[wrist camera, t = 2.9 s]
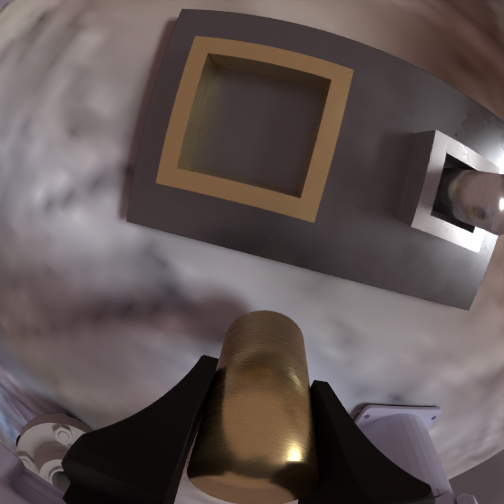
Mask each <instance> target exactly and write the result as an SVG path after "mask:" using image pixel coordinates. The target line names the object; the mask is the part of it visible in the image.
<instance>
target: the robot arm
mask: <svg viewBox="0 0 504 504" xmlns="http://www.w3.org/2000/svg"><path fill="white" fill-rule="evenodd" d="M218 361H219V359H217V358H213V357H210V356H206V355H203V356H201V358H200V359H199V361H198V362H197V363H196V365H195V366H194V367H193V368H192V369H191V371H190V372H189V373H188V374H187V375H186V376H185V377H184V378H183V379H182V380H181V381H180V382H179V383H178V384H177V385H176V386H174V387H173V388H172V389H171V390H170V391H168V392H167V393H166V394H165V395H164V396H162V397H161V398H160V399H158V400H157V401H155V402H154V403H152V404H151V405H149V406H148V407H146V408H145V409H143V410H141V411H139V412H138V413H136V414H134V415H132V416H130V417H128V418H126V419H124V420H122V421H119V422H117V423H115V424H112V425H110V426H107V427H104V428H101V429H98V430H95V431H91V432H88V433H84V434H82V435H81V436H80V437H79V438H78V439H77V440H76V441H75V442H74V444H73V445H72V446H71V447H70V448H69V450H68V451H67V453H66V455H65V456H64V458H63V460H62V462H61V465H62V468H63V470H64V472H65V474H66V476H67V477H68V479H69V481H70V485H69V487H68V489H67V491H66V492H64V491H62V490H60V489H59V488H57V487H55V486H54V485H52V484H50V483H49V482H47V481H46V480H44V479H42V478H41V477H39V476H38V475H36V474H35V473H33V472H32V471H30V470H29V469H28V468H26V467H25V465H24V463H23V462H22V460H21V459H20V458H19V457H18V456H17V455H16V454H15V453H13V452H12V451H11V450H10V449H8V448H7V447H6V446H5V445H3V444H2V443H1V442H0V504H174V501H175V498H176V494H177V490H178V487H179V483H180V480H181V476H182V473H183V469H184V466H185V462H186V459H187V456H188V453H189V451H190V448H191V446H192V443H193V441H194V438H195V436H196V434H197V431H198V429H199V426H200V423H201V419H202V416H203V413H204V409H205V406H206V402H207V399H208V395H209V392H210V389H211V387H212V383H213V380H214V376H215V373H216V369H217V365H218ZM310 392H311V401H312V410H313V419H314V428H315V438H316V448H317V459H318V470H319V483H318V485H317V487H316V488H315V489H314V490H313V491H312V492H311V493H309V494H308V495H306V496H304V497H302V498H300V499H298V504H478V502H477V500H476V499H475V497H474V496H473V495H466V494H462V495H460V496H459V497H456V496H455V495H454V494H453V492H452V489H451V487H450V484H449V481H448V479H447V476H446V474H445V471H444V469H443V466H442V464H441V461H440V459H439V456H438V454H437V452H436V449H435V447H434V445H433V442H432V440H431V438H430V435H429V433H428V431H427V430H428V429H429V428H430V426H431V425H432V424H433V423H434V422H435V420H436V419H437V418H438V417H439V415H440V414H441V412H442V410H441V408H440V407H402V406H383V405H367V406H366V407H364V408H363V410H362V411H361V413H360V414H359V416H358V417H357V418H356V420H355V421H353V420H352V418H351V417H350V415H349V414H348V413H347V411H346V410H345V408H344V407H343V405H342V404H341V402H340V401H339V399H338V397H337V396H336V394H335V393H334V391H333V390H332V388H331V387H330V385H329V384H328V382H323V381H317V380H314V381H313V383H312V385H311V387H310Z"/></svg>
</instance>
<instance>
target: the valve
mask: <svg viewBox="0 0 504 504" xmlns="http://www.w3.org/2000/svg"><path fill="white" fill-rule="evenodd" d="M91 431H93V430H92V429H90V428H89V427H88V426H87V425H85V424H84V423H83V422H81V421H79V420H77V419H74V418H72V417H69V416H68V415H66V414H64V413H59V414H45V415H41V416H38V417H35V418H34V419H32V420H31V421H29V422H28V423H27V424H26V425H25V427H24V429H23V430H22V433H21V434H20V435H19V436H18V438H17V440H16V446H17V456H18V457H19V458H20V459H21V460H22V462H23V463H24V465H25V467H26V468H28V469H29V470H30V471H32V472H33V473H35V474H36V475H38V476H39V477H41V478H42V479H44V480H46V481H47V482H49V483H50V484H52V485H54V486H55V487H57V488H59V489H60V490H62V491H64V492H66V491H67V489H68V487H69V485H70V481H69V479H68V477H67V476H66V474H65V472H64V470H63V468H62V465H61V462H62V460H63V458H64V456H65V455H66V453H67V451H68V450H69V448H70V447H71V446H72V445H73V444H74V442H75V441H76V440H77V439H78V438H79V437H80V436H81V435H82V434H84V433H88V432H91Z"/></svg>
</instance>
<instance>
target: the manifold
mask: <svg viewBox="0 0 504 504" xmlns="http://www.w3.org/2000/svg"><path fill="white" fill-rule="evenodd" d="M127 222H131V223H135V224H139V225H142V226H146V227H150V228H154V229H157V230H161V231H165V232H169V233H173V234H176V235H180V236H184V237H188V238H192V239H195V240H199V241H203V242H207V243H210V244H214V245H218V246H222V247H226V248H229V249H233V250H237V251H241V252H245V253H249V254H252V255H256V256H260V257H264V258H268V259H271V260H275V261H279V262H283V263H287V264H291V265H294V266H298V267H302V268H306V269H310V270H314V271H317V272H321V273H325V274H329V275H333V276H337V277H340V278H344V279H348V280H352V281H356V282H360V283H363V284H367V285H371V286H375V287H379V288H383V289H387V290H390V291H394V292H398V293H402V294H406V295H410V296H414V297H417V298H421V299H425V300H429V301H433V302H437V303H441V304H445V305H449V306H452V307H456V308H460V309H464V310H468V311H469V309H470V307H471V305H472V302H473V300H474V298H475V296H476V293H477V291H478V289H479V286H480V284H481V281H482V279H483V277H484V274H485V271H486V269H487V266H488V264H489V261H490V258H491V255H492V252H493V249H494V246H495V243H496V240H497V237H498V235H503V234H504V121H502V120H501V119H500V118H498V117H497V116H496V115H494V114H493V113H492V112H490V111H489V110H488V109H486V108H485V107H483V106H482V105H480V104H479V103H478V102H476V101H475V100H473V99H472V98H470V97H468V96H467V95H465V94H464V93H462V92H461V91H459V90H457V89H456V88H454V87H452V86H451V85H449V84H447V83H446V82H444V81H442V80H440V79H439V78H437V77H435V76H433V75H431V74H429V73H427V72H426V71H424V70H422V69H420V68H418V67H416V66H414V65H412V64H410V63H407V62H405V61H403V60H401V59H399V58H397V57H394V56H392V55H390V54H388V53H385V52H383V51H380V50H378V49H375V48H373V47H370V46H368V45H365V44H362V43H360V42H357V41H354V40H351V39H348V38H345V37H342V36H339V35H336V34H333V33H330V32H326V31H323V30H319V29H316V28H312V27H308V26H304V25H300V24H296V23H292V22H287V21H282V20H277V19H272V18H267V17H261V16H255V15H248V14H241V13H233V12H224V11H212V10H197V9H182V10H181V12H180V15H179V17H178V20H177V22H176V25H175V27H174V30H173V33H172V35H171V38H170V41H169V44H168V47H167V49H166V52H165V55H164V58H163V61H162V64H161V67H160V71H159V74H158V77H157V80H156V84H155V87H154V91H153V94H152V98H151V101H150V105H149V109H148V113H147V117H146V121H145V125H144V129H143V133H142V137H141V142H140V147H139V151H138V156H137V161H136V166H135V171H134V177H133V182H132V188H131V194H130V201H129V207H128V214H127Z"/></svg>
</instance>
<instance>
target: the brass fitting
mask: <svg viewBox="0 0 504 504" xmlns="http://www.w3.org/2000/svg"><path fill="white" fill-rule="evenodd" d="M187 475H188V478H189V480H190V481H191V482H192V483H193V484H194V485H195V486H196V487H197V488H198V489H200V490H201V491H203V492H205V493H206V494H208V495H210V496H213V497H215V498H218V499H221V500H224V501H228V502H232V503H237V504H282V503H287V502H291V501H294V500H297V499H300V498H302V497H304V496H306V495H308V494H309V493H311V492H312V491H313V490H314V489H315V488H316V487H317V485H318V483H319V470H318V459H317V448H316V438H315V428H314V419H313V410H312V401H311V392H310V384H309V376H308V368H307V360H306V353H305V345H304V338H303V335H302V332H301V330H300V328H299V327H298V325H297V324H296V323H295V322H294V321H293V320H291V319H290V318H289V317H287V316H285V315H283V314H281V313H277V312H273V311H254V312H250V313H247V314H245V315H243V316H241V317H239V318H238V319H237V320H235V321H234V322H233V323H232V324H231V326H230V327H229V329H228V331H227V333H226V336H225V340H224V343H223V347H222V350H221V354H220V357H219V361H218V365H217V369H216V373H215V376H214V380H213V383H212V387H211V389H210V392H209V395H208V399H207V402H206V406H205V409H204V413H203V416H202V419H201V423H200V426H199V430H198V433H197V437H196V440H195V444H194V447H193V451H192V454H191V458H190V461H189V465H188V468H187Z"/></svg>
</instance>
